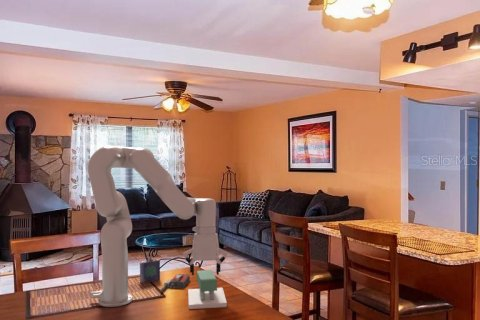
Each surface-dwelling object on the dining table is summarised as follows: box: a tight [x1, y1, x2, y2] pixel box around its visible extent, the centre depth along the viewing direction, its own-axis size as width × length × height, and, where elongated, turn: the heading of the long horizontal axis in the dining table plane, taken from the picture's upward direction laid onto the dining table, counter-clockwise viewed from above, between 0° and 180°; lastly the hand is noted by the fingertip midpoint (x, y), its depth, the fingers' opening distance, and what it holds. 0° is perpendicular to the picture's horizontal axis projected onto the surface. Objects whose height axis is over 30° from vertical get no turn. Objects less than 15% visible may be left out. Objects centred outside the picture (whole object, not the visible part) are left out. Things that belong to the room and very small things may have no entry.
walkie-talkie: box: [160, 273, 191, 293], centre depth 178 cm, size 9×4×20 cm
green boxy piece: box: [196, 269, 218, 292], centre depth 161 cm, size 6×14×4 cm, turn 12°
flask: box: [139, 256, 161, 284], centre depth 186 cm, size 9×3×11 cm, turn 122°
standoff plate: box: [187, 287, 228, 310], centre depth 161 cm, size 14×18×6 cm
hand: (205, 274), depth 161 cm, fingers open, 9 cm apart
